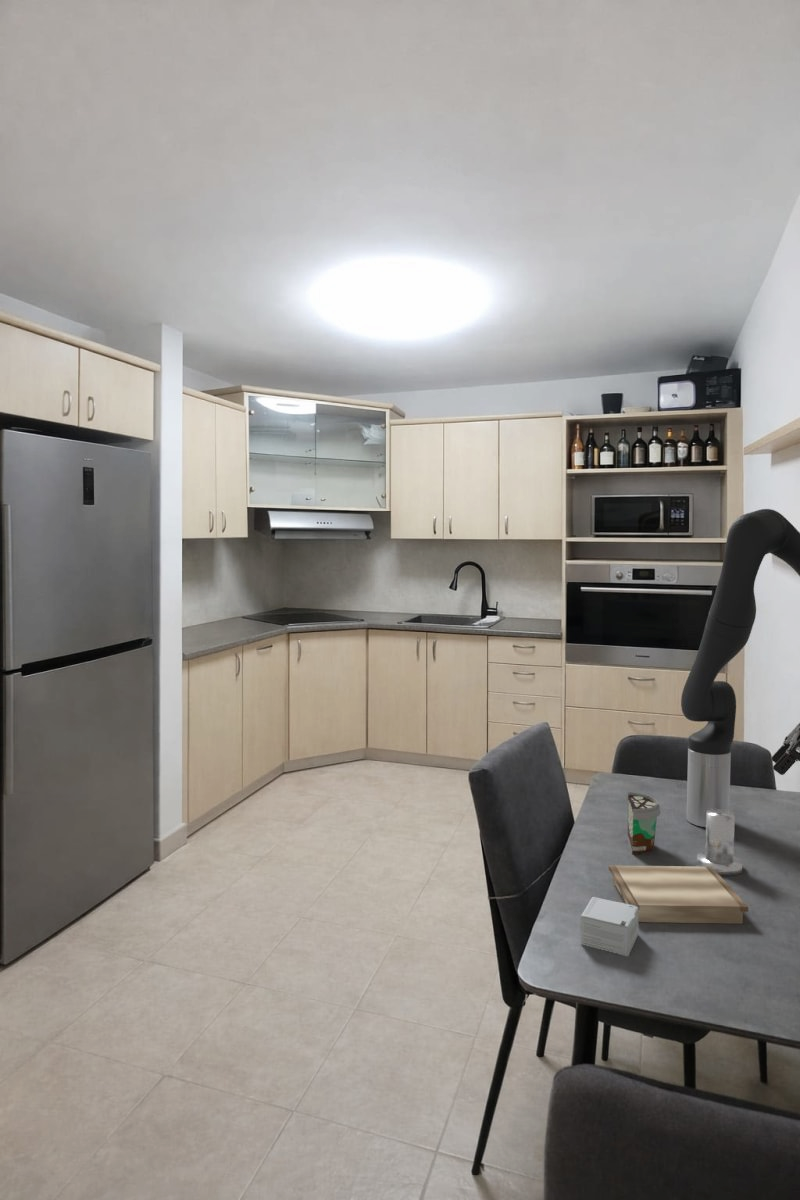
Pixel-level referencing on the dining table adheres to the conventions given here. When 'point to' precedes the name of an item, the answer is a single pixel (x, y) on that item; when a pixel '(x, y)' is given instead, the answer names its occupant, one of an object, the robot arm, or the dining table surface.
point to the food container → (642, 822)
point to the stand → (678, 894)
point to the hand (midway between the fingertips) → (776, 767)
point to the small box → (609, 926)
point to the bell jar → (720, 844)
